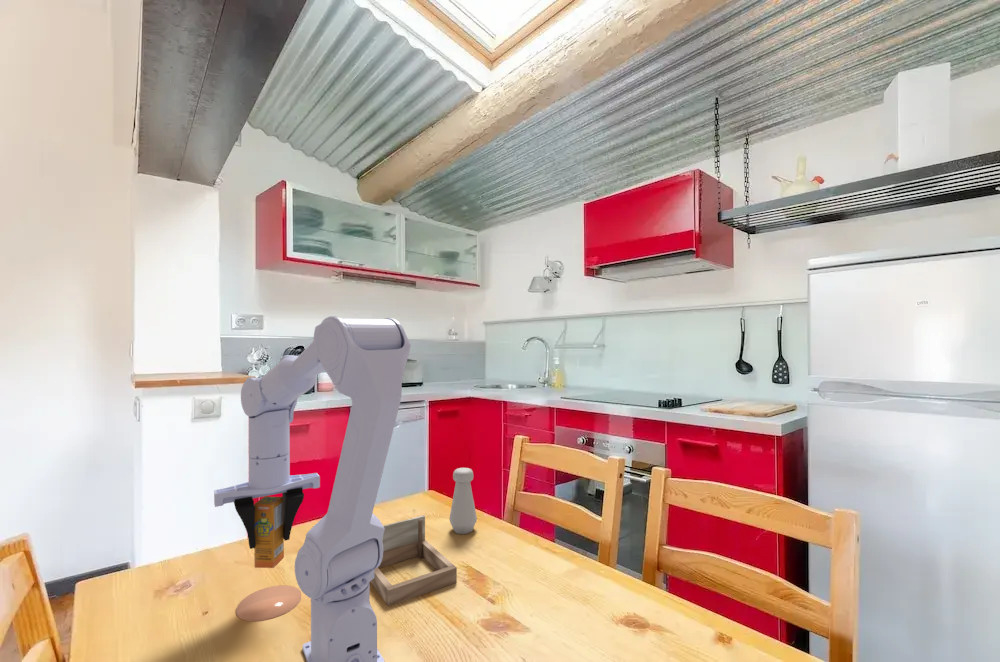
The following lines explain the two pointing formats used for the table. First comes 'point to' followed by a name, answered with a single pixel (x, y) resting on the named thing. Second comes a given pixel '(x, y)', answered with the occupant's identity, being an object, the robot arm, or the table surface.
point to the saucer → (268, 603)
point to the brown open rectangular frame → (405, 544)
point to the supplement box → (268, 532)
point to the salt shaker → (463, 502)
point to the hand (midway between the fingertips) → (269, 541)
